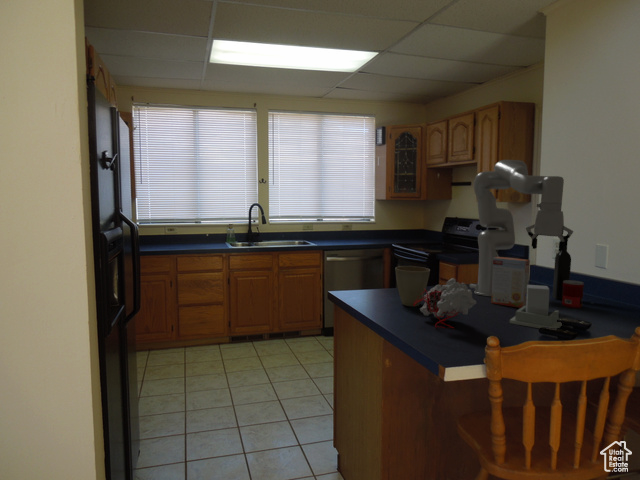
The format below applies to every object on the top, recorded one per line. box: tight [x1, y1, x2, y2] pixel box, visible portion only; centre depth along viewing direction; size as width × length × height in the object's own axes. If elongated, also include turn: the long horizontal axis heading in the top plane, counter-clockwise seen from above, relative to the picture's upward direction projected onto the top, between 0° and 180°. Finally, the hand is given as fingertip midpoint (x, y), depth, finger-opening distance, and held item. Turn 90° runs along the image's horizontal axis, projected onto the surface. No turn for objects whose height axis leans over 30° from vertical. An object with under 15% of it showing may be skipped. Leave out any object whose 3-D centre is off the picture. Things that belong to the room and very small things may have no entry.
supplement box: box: [526, 284, 551, 316], centre depth 174 cm, size 7×7×13 cm
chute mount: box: [509, 306, 563, 329], centre depth 174 cm, size 16×14×5 cm
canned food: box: [561, 279, 585, 309], centre depth 203 cm, size 8×8×11 cm
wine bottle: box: [552, 235, 572, 301], centre depth 217 cm, size 6×6×30 cm
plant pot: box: [394, 265, 431, 307], centre depth 200 cm, size 15×15×16 cm
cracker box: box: [490, 256, 531, 309], centre depth 203 cm, size 14×6×21 cm, turn 47°
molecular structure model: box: [412, 277, 477, 330], centre depth 169 cm, size 20×18×25 cm
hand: (547, 249), depth 185 cm, fingers open, 9 cm apart
